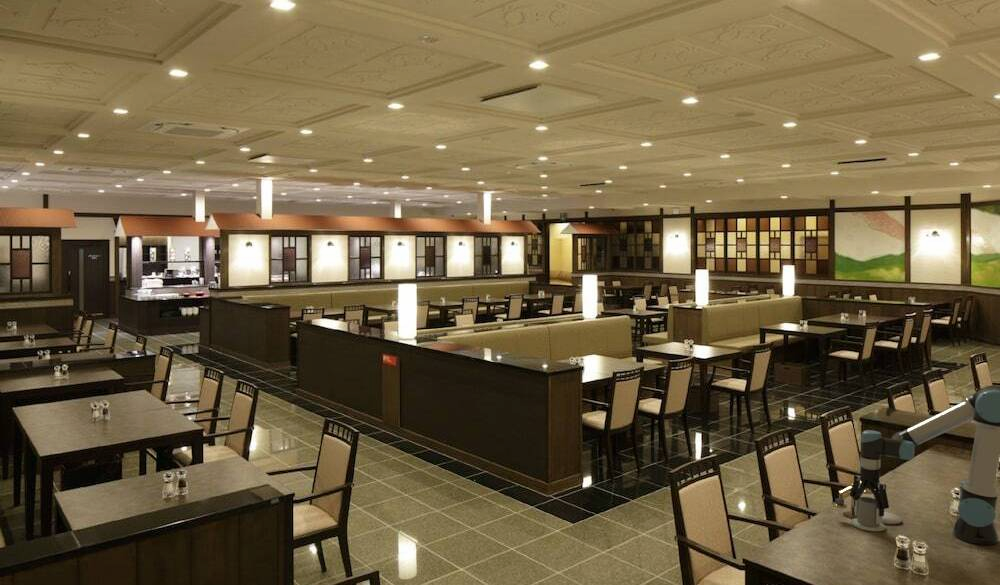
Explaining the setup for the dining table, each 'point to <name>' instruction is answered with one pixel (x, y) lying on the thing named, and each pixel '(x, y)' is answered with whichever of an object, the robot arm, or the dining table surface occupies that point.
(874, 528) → the dish green
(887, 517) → the white dome
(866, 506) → the cup
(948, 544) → the dining table surface
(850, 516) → the balance
